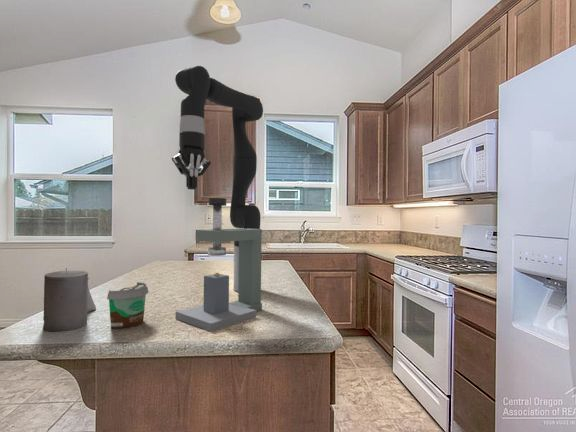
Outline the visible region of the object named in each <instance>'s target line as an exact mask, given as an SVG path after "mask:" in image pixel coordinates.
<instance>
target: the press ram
mask: <svg viewBox="0 0 576 432" xmlns="http://www.w3.org/2000/svg"><path fill="white" fill-rule="evenodd" d="M207 205H208V206H212V229H213V230H215V231H216V230H221V229H223V228H222V221H223V220H222V215H223V211H222V210H223V209H222V208H223V207H226V206H227V198H225V197H224V198H222V197H221V198H220V197H211V198H210V197H209V198H208V202H207ZM226 254H227V247H225V246H222V242H212V246H208V247H207V255H208V256H215V257H219V256H226Z"/></svg>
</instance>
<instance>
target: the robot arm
mask: <svg viewBox="0 0 576 432" xmlns="http://www.w3.org/2000/svg"><path fill="white" fill-rule="evenodd" d="M174 81H175V84H176V86H177V88H178V89H179V90H180V92H183V93H184V94H186V95H187V96H186V97H183V98H182V100H181V102H180V120H179V137H178V138H179V142H178V143H179V144H178V145H179V149H178V153H177V154H176V155H175V156H174V155H173V156H172V157H171V160H172V162H173V164H174V166H175V167H176V168H177V170H178V172H179V173H180V175H184V177H186V179H185V180H186V181H185V185H186V188H187V189H188V190H196V189H197V187H198V178H199V177H200V176H201V177H202V176H203V175H204V174H205V173H206V171H207V169H208V168H209V167H210V165H211V164H212V163H211V161H210V160H207V159H206V158H205V157H206V155H205V153H204V152H205V149H206V147H205V140H206V135H205V134H206V126H205V125H206V124H205V106H206V102H207V101H209V102H212V103H214V104H216V105H218V106H222V107H227V108H231V119H232V128H233V129H232V132H233V152H232V153H233V155H232V156H233V158H232V190H231V199H230V200H231V201H230V209H229V220H230V225H232V227H233V228H234V229H240V228H241V229H261V211H260V209H259V207H258V206H257V205H255V204H246V202H247V201H246V200H247V199H246V198H247V193H248V191H249V188H250V186H251V184H252V182H253V181H254V179H255V177H256V173H257V164H258V162H257V159H258V158H257V153H256V150H255V148H254V147H253V145H252V143H251V141H250V139H249V138H248V135H247V134H248V133H247V129H246V128H247V125H246V124H247V123H248V122H257V121H259V120H260V119H261V118H262V117H263V114H264V107H263V103H262V102H261V100H260V99H259V98H258V97H256V96H254V95H250V94H246V93H243V92H241V91H238V90H236V89H233V88H231V87H229V86H228V85H225V84H224V83H222V82H221V81H219V80H217V79H215V78H212V77H210V73H209V71H208V70H207V68H206V67H204V66H202V65H196V66H194V65H193V66H191V67H187V68H183V69H180V70H179V71H177V73H175V78H174ZM238 286H239V241H233V291H235V292H238Z"/></svg>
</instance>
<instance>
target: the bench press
mask: <svg viewBox="0 0 576 432" xmlns="http://www.w3.org/2000/svg"><path fill="white" fill-rule="evenodd" d="M262 231H263V230H262V229H261V228H260V229H244V228H221V230H216V231H215V230H213V228H212V229H210V228H209V229H195V241H197V242H198V241H199V242H206V243H207V242H208V243H213V242H221V243H225V242H226V243H228V242H234V241H239V286H238V295H237V296H238V299H237V300H236V301H231V302H229V311H226V312H222V313H218V314H212V313H208V312H205V311H204V304H201V305H197V306H194V307H193V306H192V307H188V308H184V309H180V310H175V319H176V320H179V321H180V322H184V323H186V324H189V325H192V326H194V327H197V328H200V329H202V330H206V331H208V332H213V331H217V330H221V329H224V328H226V327H230V326H232V325H236V324H238V323H242V322H246V321H249V320H251V319H255V318H257V312H259V311H260V312H261V311H262V310H263V303H262V240H263V239H262V237H263V236H262V235H263V233H262Z"/></svg>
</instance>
